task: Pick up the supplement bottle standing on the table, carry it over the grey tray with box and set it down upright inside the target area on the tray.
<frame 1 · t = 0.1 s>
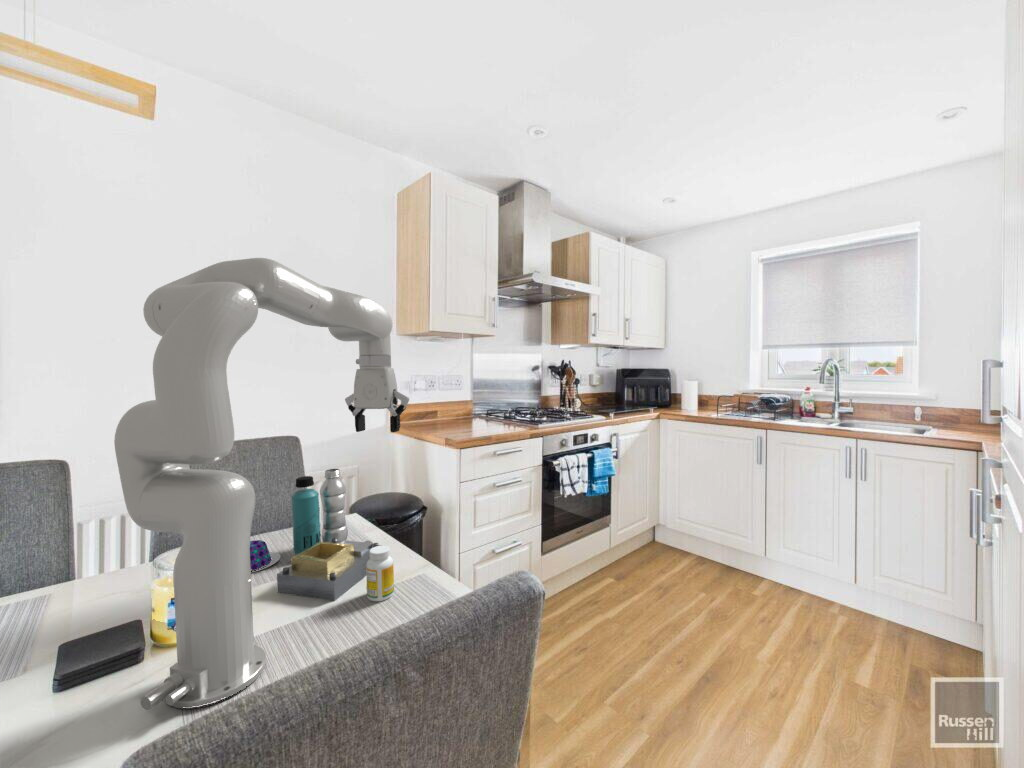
hand: (377, 431, 108), 31 cm above the table, tool pointing down, fingers open, 9 cm apart
beverage bottle: (307, 556, 109), on the table
plastic bottle: (335, 544, 116), on the table
grey tray with box: (334, 576, 97), on the table
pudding: (252, 566, 104), on the table
supplement bottle: (380, 596, 89), on the table
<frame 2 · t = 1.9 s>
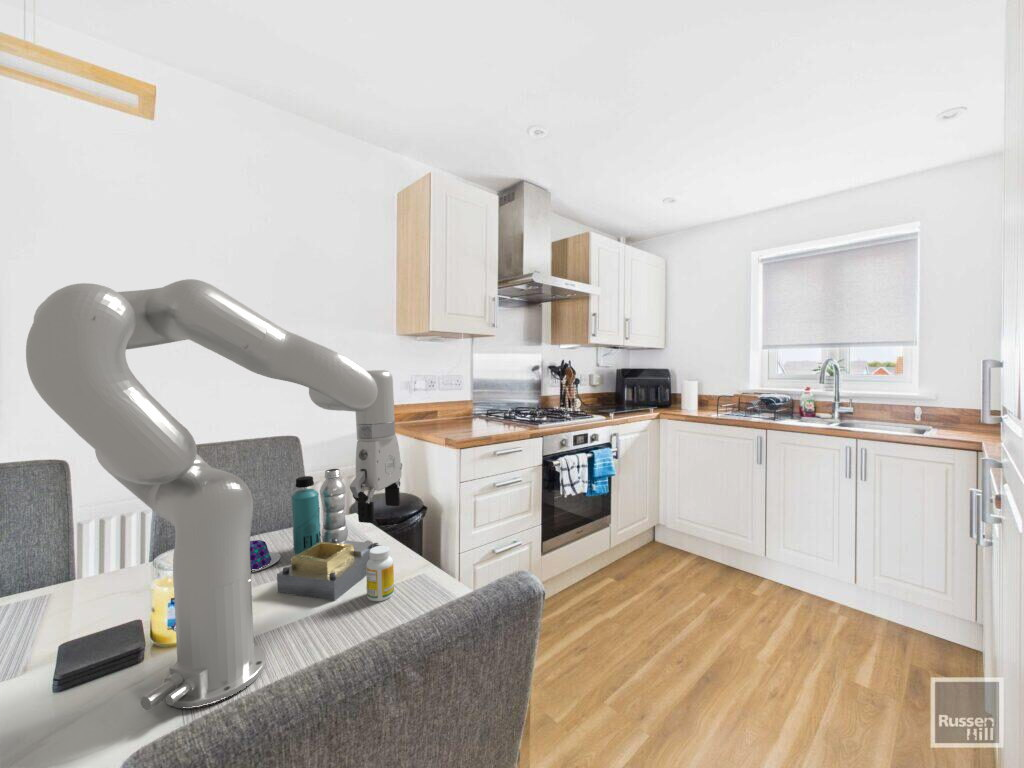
hand: (380, 513, 88), 17 cm above the table, tool pointing down, fingers open, 9 cm apart
nothing on the table moved.
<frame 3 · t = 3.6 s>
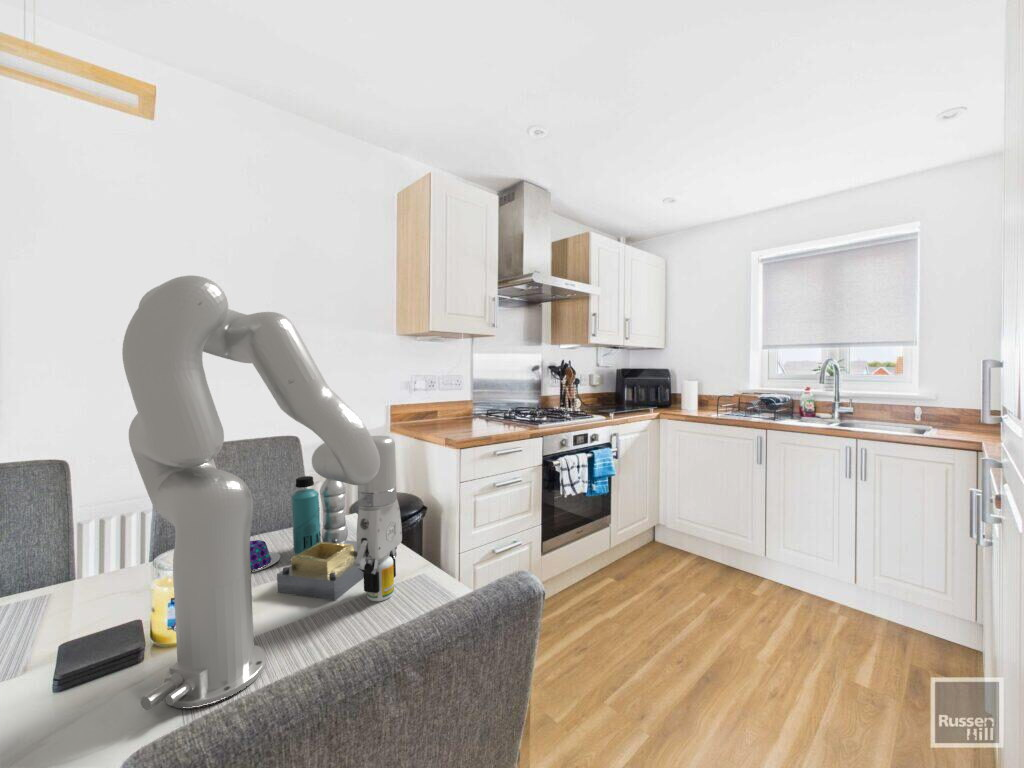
hand: (380, 583, 88), 3 cm above the table, tool pointing down, fingers closed on supplement bottle, 5 cm apart
supplement bottle: (380, 596, 89), on the table, touching gripper
everything else where it was.
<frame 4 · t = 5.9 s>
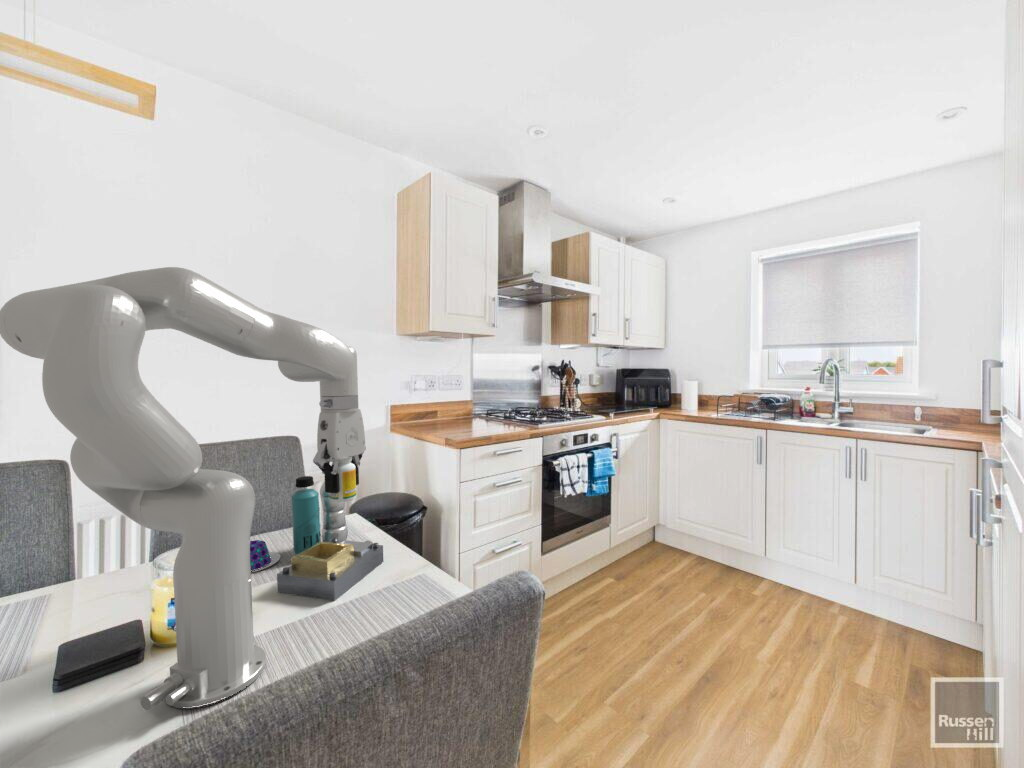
hand: (342, 487, 92), 21 cm above the table, tool pointing down, fingers closed on supplement bottle, 5 cm apart
supplement bottle: (343, 500, 92), point 19 cm above the table, touching gripper
everything else where it was.
when the fingers open (8 cm above the table, at t = 8.3 s): supplement bottle drops 2 cm, resting on grey tray with box.
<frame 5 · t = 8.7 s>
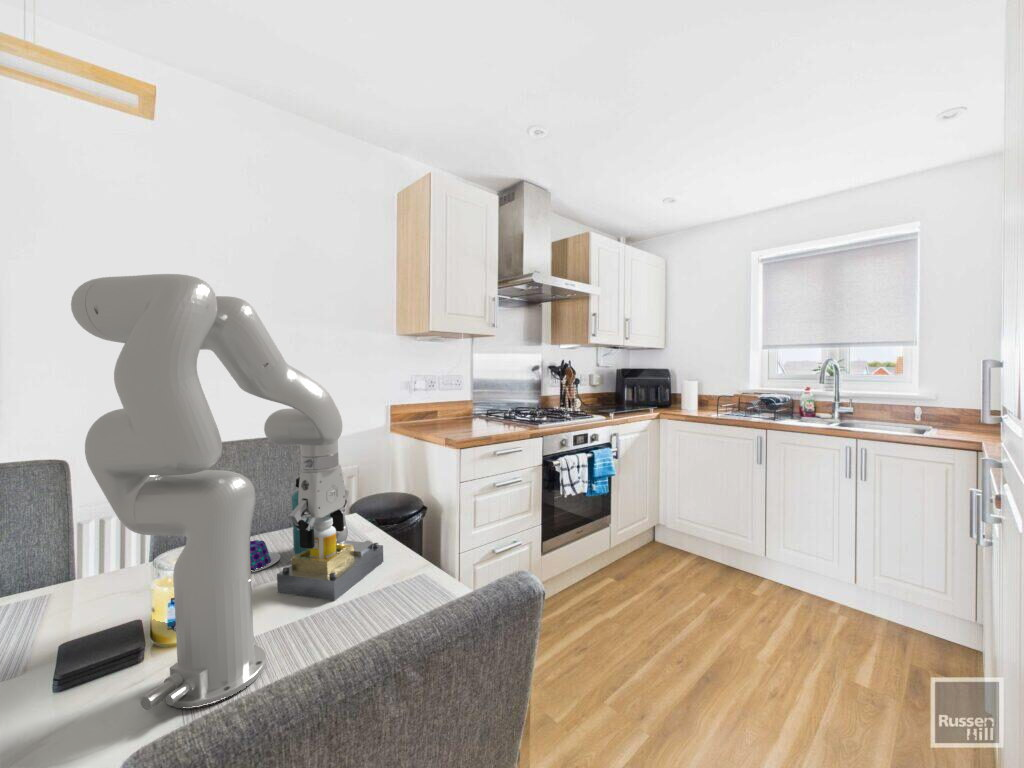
hand: (323, 538, 95), 9 cm above the table, tool pointing down, fingers open, 9 cm apart
supplement bottle: (323, 563, 95), point 4 cm above the table, touching grey tray with box
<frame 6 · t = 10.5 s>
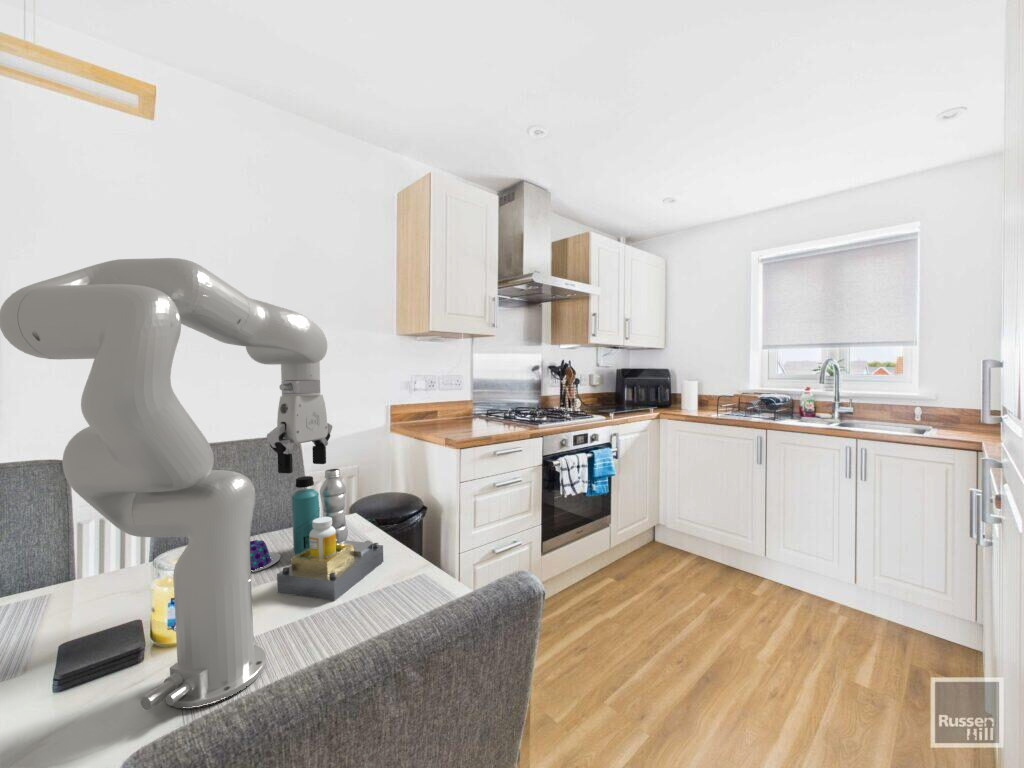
hand: (303, 468, 93), 26 cm above the table, tool pointing down, fingers open, 9 cm apart
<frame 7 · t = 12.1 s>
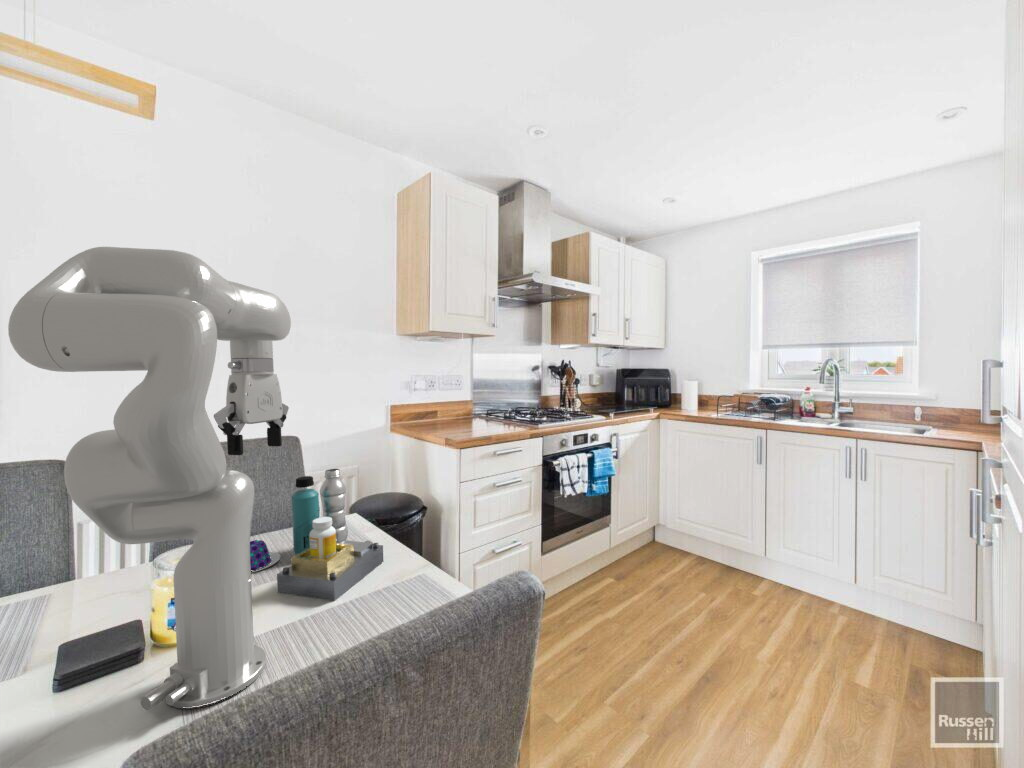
hand: (256, 450, 89), 30 cm above the table, tool pointing down, fingers open, 9 cm apart
at the end: supplement bottle inside the target area on the grey tray with box (0.2 cm from its centre), point 3.8 cm above the grey tray with box's base; supplement bottle tilted 0°; the gripper is holding nothing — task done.
